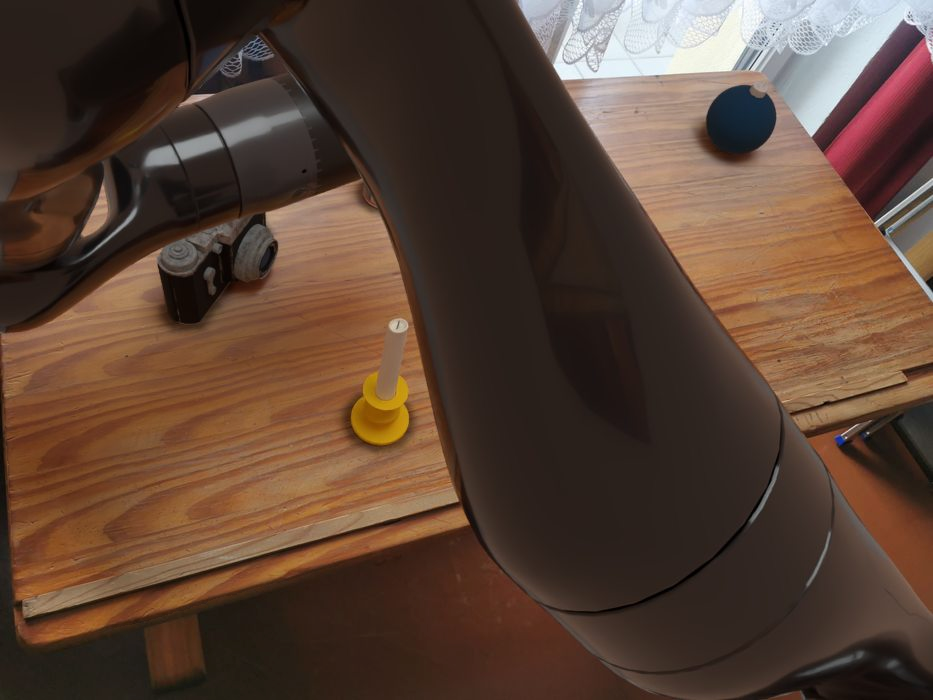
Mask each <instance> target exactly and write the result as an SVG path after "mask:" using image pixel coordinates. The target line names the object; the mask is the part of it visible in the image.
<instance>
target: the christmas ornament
mask: <svg viewBox="0 0 933 700" xmlns="http://www.w3.org/2000/svg"><path fill="white" fill-rule="evenodd" d="M768 91H769V87H768V85H767V84H766V83H765V82H763V81H754V82H753V83H752V85H750V84H739V85H734V86H731V87H729V88H727V89H725V90H723V91H721V92H720V93H719V94H718V95H717V96H716V97H715V98H714V99H713V101H712V102H711V104H710V105H709V108H708V110H707V112H706V118H705V128H706V129H705V130H706V133H707V135H708V137H709V140H710V141H711V142H712V144H713V145H714V146H715V147H716V148H717V149H719V150H720V151H722V152H724V153H727V154H731V155H744V154H745V155H746V154H749V153H752V152H754V151H756V150H758V149H759V148H761V147H762V146H763V145H764V144H766V143H767V141H768V140H769V139H770V138H771V136H772V135H773V132H774V130H775V128H776V124H777V109H776V106H775V103H774V100H773V99H772V97H771V96H770V95H769V94H768Z"/></svg>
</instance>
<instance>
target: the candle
mask: <svg viewBox="0 0 933 700" xmlns="http://www.w3.org/2000/svg"><path fill="white" fill-rule="evenodd" d="M408 331H409V323H408V321H407V320H406V319H404V318H398V317H397V318H394V319H392V320H390V322H389V323H388V325H387V329H386V332H385V337H384V342H383V346H382V353H381V358H380V363H379V368H378V371H375V372H373V373H371V374H370V375H368V376H367V378H366V379H365V380H364V382H363V384H362V394H363V395H362V396H361V397H360V398H359V399H358V400H357V401H356V402H355V403H354V405H353V407H352V409H351V413H350V424H351V427H352V429H353V432H354V433H355V435H357V437H358V438H359V439H360V440H362V441H363V442H365V443H366V444H370V445H373V446H379V447H380V446H388V445H391V444H394V443H397V442H398V441H399V440H401V439H402V438H403V436H404V435H405V434H406V432H407V430H408V429H409V424H410V415H409V410H408V409H407V407H406V404H405V403H406V402H407V399H408V397H409V391H410V390H409V386H408V383H407V381H406V380H405V379H404V378H403V377H402V376H401V375H400V371H401V367H402V363H403V357H404V352H405V349H406V348H405V347H406V342H407V337H408Z"/></svg>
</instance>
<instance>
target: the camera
mask: <svg viewBox="0 0 933 700" xmlns="http://www.w3.org/2000/svg"><path fill="white" fill-rule="evenodd" d="M278 252H279V241H278V240H277V239H276V238H275V237H274V235H273V233H271V229H270V228H269V227H267V212H265V213H261V214H256V215H251V216H246V217H243V218H239V219H236V220H233V221H230V222H227V223H224V224H222V225H219V226H216V227H213V228H210V229H208V230H205V231H202V232H199V233H196V234H194V235H191V236H189V237H186V238H184V239H181V240H179V241H176V242H174V243H171V244H169V245H167V246H165V247H163V248H161V251H160V253H159V254H157V256H156V261H157V262H156V263H157V269H158V273H159V279H160V283H161V288H162V293H163V297H164V301H165V306H166V310H167V314H168V315H169V316H170V318H171V320H172V321H174V322H176V323H179V324H181V325H186V326H188V325H189V326H191V325H197V324H200V323H202V321H203V320H204V318H205V317H206V316H207V314H208V313H209V312H210V311H211V309H212V307H214V305H215V303H216V302H217V301H218V299H219V298H220V297H221V295H222V294H223V293H224V291H226V289H227V287H228V286H229V285H230V284H232V285H233V284H234V285H236V283H239V282H241V281H243V282H245V283H249V282H251V281H256V280H263V279H264V278H266V277H267V276H268V274H269V273H270V272H271V270H272V268H273V267H274V265H275V262H276V260H277V257H278Z"/></svg>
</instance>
